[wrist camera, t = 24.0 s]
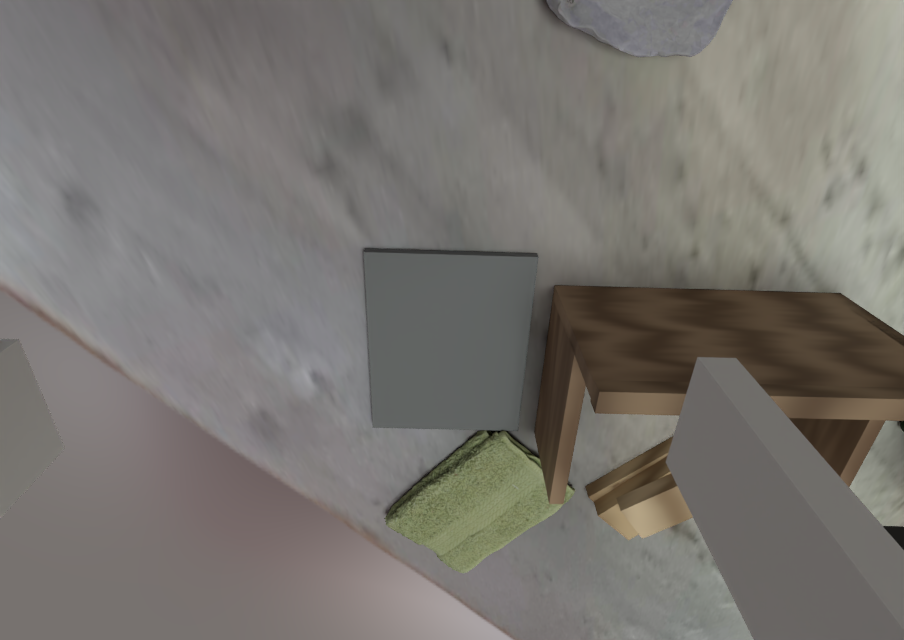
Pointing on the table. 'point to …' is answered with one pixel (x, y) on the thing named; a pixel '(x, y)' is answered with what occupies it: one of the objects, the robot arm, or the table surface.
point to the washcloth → (475, 501)
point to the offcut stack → (640, 495)
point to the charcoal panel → (448, 337)
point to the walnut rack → (721, 336)
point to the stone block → (646, 23)
